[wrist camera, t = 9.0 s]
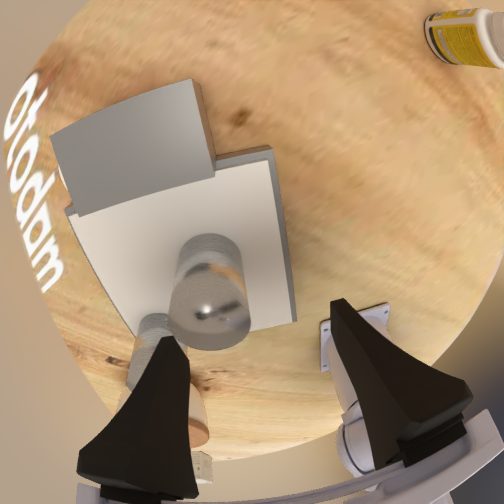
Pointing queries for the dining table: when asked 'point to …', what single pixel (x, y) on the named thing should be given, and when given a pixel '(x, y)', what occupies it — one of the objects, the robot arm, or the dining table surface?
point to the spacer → (209, 294)
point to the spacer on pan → (147, 345)
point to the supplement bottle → (468, 37)
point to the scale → (171, 202)
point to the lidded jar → (195, 419)
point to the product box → (202, 467)
